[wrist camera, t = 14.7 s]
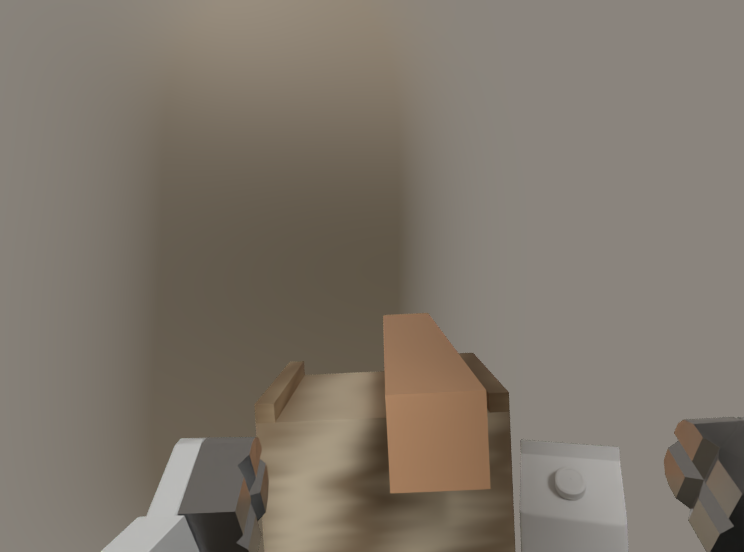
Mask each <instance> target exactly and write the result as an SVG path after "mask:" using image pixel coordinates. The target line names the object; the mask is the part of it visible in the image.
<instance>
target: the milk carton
mask: <svg viewBox="0 0 744 552" xmlns="http://www.w3.org/2000/svg"><path fill="white" fill-rule="evenodd" d="M520 442H521V476H520V478H521V479H520V527H521V551H522V552H628V523H627V515H626V506H625V498H624V489H623V481H622V473H621V465H620V448H619V447H615V446H602V445H588V444H574V443H559V442H546V441H531V440H521V441H520Z"/></svg>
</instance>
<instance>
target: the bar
mask: <svg viewBox="0 0 744 552" xmlns="http://www.w3.org/2000/svg"><path fill="white" fill-rule="evenodd" d="M383 324H384V325H383V327H384V365H385V367H384V368H385V401H386V420H387V439H388V458H389V476H390V493H413V492H437V491H460V490H483V489H491V488H490V465H489V442H488V419H487V396H486V389H485V388H484V387H483V385H482V384H481V383H480V381H479V380H478V379H477V377H476V376H475V375H474V373H473V372H472V371H471V369H470V368H469V367H468V365H467V364H466V363H465V361H464V360H463V359H462V357H461V356H460V355H459V353H457V351H456V350H455V348H454V347H453V346H452V344H451V343H450V342H449V340H448V339H447V338H446V336H445V335H444V334H443V332H442V331H441V330H440V328H439V327H438V326H437V324H436V323H435V322H434V320H433V319H432V318H431V316H430V315H429V314H428V313H417V314H399V315H384V316H383Z"/></svg>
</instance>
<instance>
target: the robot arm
mask: <svg viewBox="0 0 744 552" xmlns="http://www.w3.org/2000/svg"><path fill="white" fill-rule="evenodd" d="M674 434H675V435H676V437H677V438H678V440H679V441H677V442H676V443H675V444H673V445H672V446H670V447H669V448H668V450H667V453H666V456H665V459H664V466H665V475H666V478H667V481H668V484H669V486H670V488H671V490H672V492H673V494H674V496H675V497H676V499H678V500H679V501H681V502H682V503H683V504H685V505H686V506H687V507H689V508H690V514H689V520H688V521H689V522H690V524H691V526H692V527H693V529H694V531H695V533H696V534H697V536H698V538H699V539H700V541H701V543H702V545H703V547H704V548H705V550H706V552H744V417H737V418H735V417H723V418H704V419H685V420H682V421H681V422H680V423H678V425H677V427H676V429H675V432H674ZM261 451H262V447H261V443H260V440H259V437H221V438H183V439H182V438H181V439H180V440H179V441H178V443H177V444H176V445H175V446H174V448H173V451H172V454H171V456H170V459H169V461H168V463H167V466H166V468H165V471H164V473H163V476H162V478H161V481H160V483H159V486H158V489H157V491H156V493H155V496H154V498H153V501H152V503H151V505H150V508H149V511H148V513H147V515H146V516H144V517H138V518H136V519H135V521H133V522H132V523H131V524H130V525H129V526H128V527H127V528H126V529H125V530H123V531H122V532H121V533H120V534H119V535H118V536H117V537H116V538H115V539H114V540H113V541H112V542H110V543H109V544H108V545H107V546H106V547H105V548H104V549H103V550H102V551H101V552H258V550H259V544H260V539H261V531H260V528H259V524H258V520H259V519H260V518H261V517H262V516H263V515H264V514H265V513H266V507H267V501H268V490H269V479H268V470H267V466H266V463H265V462H263V461H262V460H261V459H260V456H261Z"/></svg>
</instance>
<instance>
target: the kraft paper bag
mask: <svg viewBox="0 0 744 552" xmlns="http://www.w3.org/2000/svg"><path fill="white" fill-rule="evenodd" d="M459 355H460V356H461V357H462V359H463V360H464V361H465V363H466V364H467V365H468V367H469V368H470V369H471V371H472V372H473V373H474V375H475V376H476V377H477V379H478V380H479V381H480V383H481V384H482V385H483V387H484V388H485V389H486V396H487V419H488V442H489V465H490V488H491V489H483V490H460V491H437V492H413V493H390V476H389V458H388V439H387V420H386V401H385V371H380V372H379V371H378V372H358V373H340V374H339V373H338V374H317V375H305V372H304V361H298V362H289V364H288V365H287V366H286V367H285V369H284V370H283V371H282V372H281V373H280V374H279V376H278V377H277V378H276V379H275V380H274V382H273V383H272V384H271V385H270V387H269V388H268V389H267V390H266V391H265V393H264V394H263V395H262V396H261V397H260V398H259V400H258V401H257V402H256V403H255V418H256V434H257V437H259V440H260V443H261V447H262V451H261V456H260V459H261V460H262V461H263V462H265V463H266V466H267V470H268V479H269V490H268V501H267V507H266V513H265V514H264V515H263V516H262V525H263V541H264V552H515V533H514V509H513V508H514V507H513V484H512V460H511V435H510V412H509V411H510V410H509V392H508V391H507V390H506V389H505V388H504V387H503V386H502V385H501V383H500V382H499V381H498V380H497V379H496V378H495V377H494V375H493V374H492V373H491V372H490V371H489V370H488V369H487V368H486V367H485V366H484V364H483V363H482V362H481V361H480V360H479V359H478V358H477V357H476V356H475V354H473V353H460V354H459Z"/></svg>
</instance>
